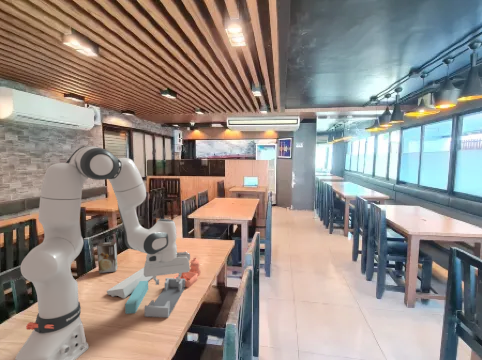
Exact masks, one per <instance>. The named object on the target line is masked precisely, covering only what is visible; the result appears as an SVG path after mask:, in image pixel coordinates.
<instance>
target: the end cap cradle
mask: <svg viewBox="0 0 482 360" xmlns="http://www.w3.org/2000/svg"><path fill="white" fill-rule="evenodd" d="M185 288H186V287H185V279H184V278H182V279H179V282H176V278H174V277H165V281H164V288H163V289H162V291H161V292H160V293H159V295H158V296H157V298H156V299H155V300H154V299H151V301H150V302H149V303H148V305H146V304H145V305H144V307H143V309H144V318H163V319H165V318H167V319H168V318H170V316H171V313H172V312H173V311H174V309H175V307H176V304H177V303H178V301H179V299H180V298H181V297H182V294H183V292H184V291H185Z"/></svg>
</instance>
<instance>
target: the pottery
mask: <svg viewBox="0 0 482 360" xmlns="http://www.w3.org/2000/svg"><path fill="white" fill-rule="evenodd" d="M189 265H190V270H189V272H184V273H182V275H181V277H180V278H179V279H185V288H188V289H189V288H190V287H191V286H193V284H195V283H196V282H197V281H199V280H198V277H199V276H200V275H201V269H200V260H199V259H197V257H193V258H192V259H191V260H190V264H189ZM178 276H179V273H177V274H176V275H175V276H174V277H173V278H176V277H178ZM187 279H188V280H187Z"/></svg>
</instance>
